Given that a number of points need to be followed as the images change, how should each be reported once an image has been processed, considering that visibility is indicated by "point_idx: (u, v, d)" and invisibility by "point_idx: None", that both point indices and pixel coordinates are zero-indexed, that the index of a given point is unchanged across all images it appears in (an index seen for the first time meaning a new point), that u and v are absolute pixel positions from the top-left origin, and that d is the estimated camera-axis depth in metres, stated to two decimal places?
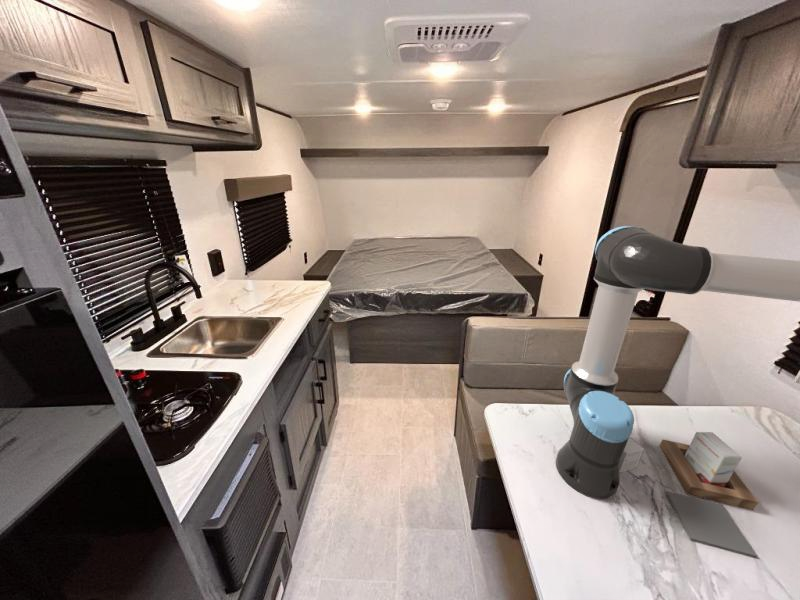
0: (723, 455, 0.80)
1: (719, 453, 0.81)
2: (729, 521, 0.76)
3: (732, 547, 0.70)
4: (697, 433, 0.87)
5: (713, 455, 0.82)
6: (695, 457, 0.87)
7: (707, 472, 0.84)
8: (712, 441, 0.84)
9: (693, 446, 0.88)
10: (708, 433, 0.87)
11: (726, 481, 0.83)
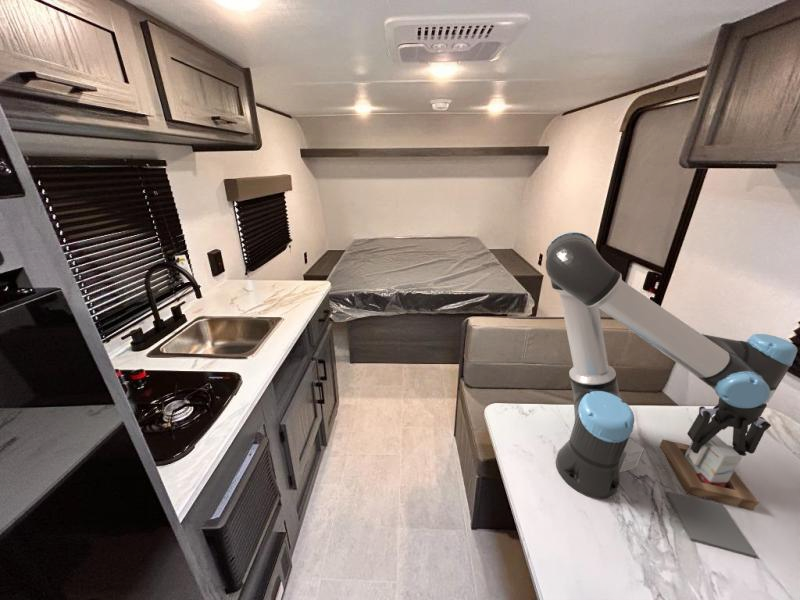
0: (723, 455, 0.80)
1: (719, 453, 0.81)
2: (729, 521, 0.76)
3: (732, 547, 0.70)
4: None
5: (713, 455, 0.82)
6: None
7: (707, 472, 0.84)
8: (712, 441, 0.84)
9: None
10: None
11: (726, 481, 0.83)
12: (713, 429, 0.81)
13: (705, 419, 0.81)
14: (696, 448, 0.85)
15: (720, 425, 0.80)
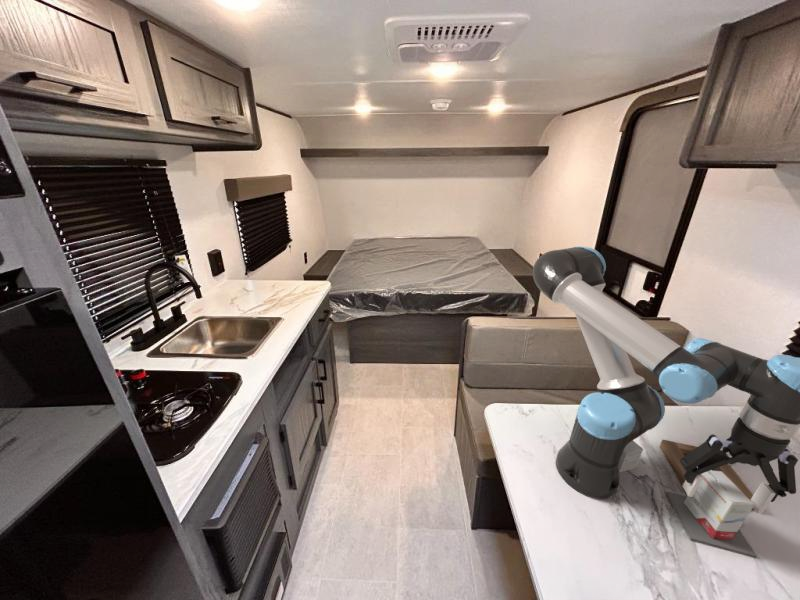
0: (731, 500, 0.68)
1: (727, 498, 0.69)
2: None
3: (732, 547, 0.70)
4: None
5: (719, 500, 0.70)
6: (699, 499, 0.75)
7: (712, 518, 0.72)
8: (720, 482, 0.72)
9: None
10: (716, 472, 0.75)
11: (735, 530, 0.71)
12: (718, 461, 0.69)
13: (713, 449, 0.68)
14: (690, 477, 0.72)
15: (730, 458, 0.67)
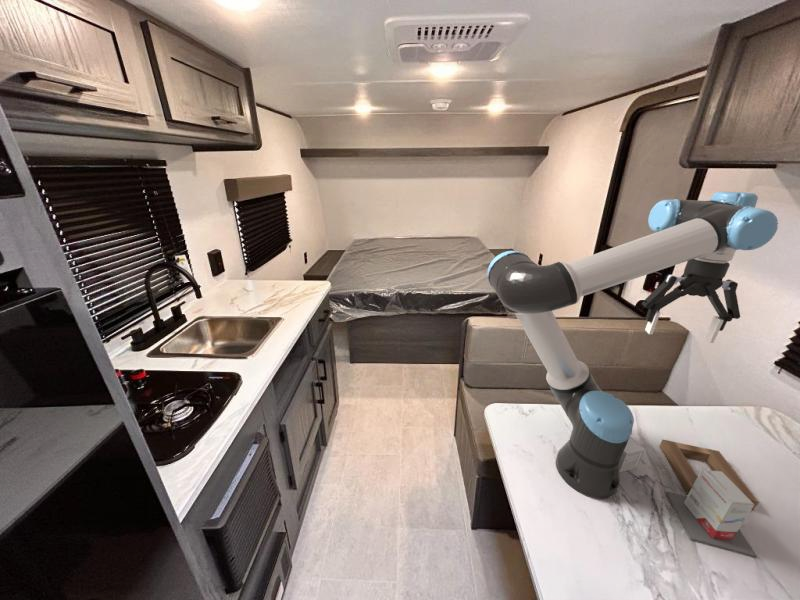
0: (731, 500, 0.68)
1: (727, 498, 0.69)
2: None
3: (732, 547, 0.70)
4: (702, 471, 0.75)
5: (719, 500, 0.70)
6: (699, 499, 0.75)
7: (712, 518, 0.72)
8: (720, 482, 0.72)
9: (697, 485, 0.76)
10: (716, 472, 0.75)
11: (735, 530, 0.71)
12: (673, 295, 0.81)
13: (669, 284, 0.80)
14: (650, 316, 0.84)
15: (682, 291, 0.80)
